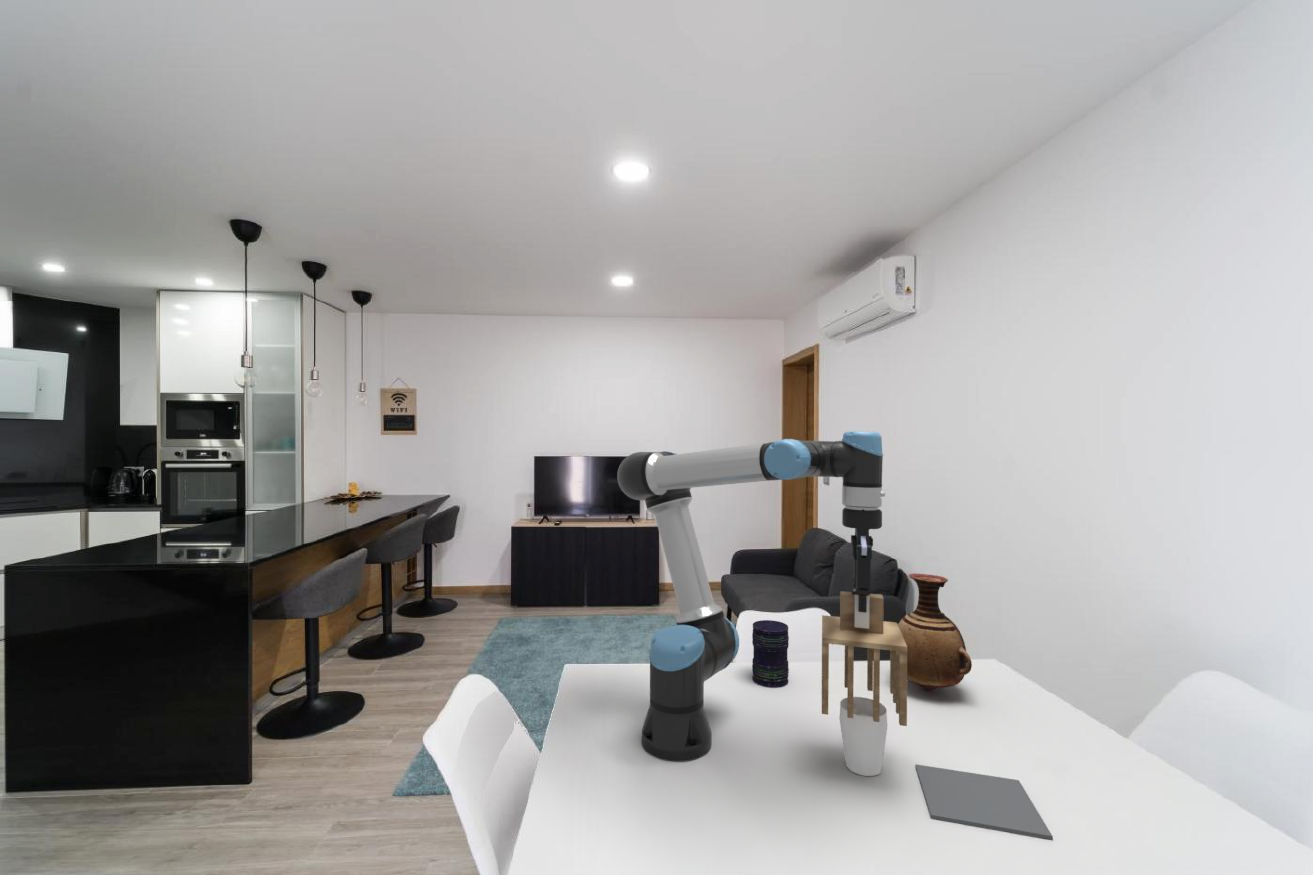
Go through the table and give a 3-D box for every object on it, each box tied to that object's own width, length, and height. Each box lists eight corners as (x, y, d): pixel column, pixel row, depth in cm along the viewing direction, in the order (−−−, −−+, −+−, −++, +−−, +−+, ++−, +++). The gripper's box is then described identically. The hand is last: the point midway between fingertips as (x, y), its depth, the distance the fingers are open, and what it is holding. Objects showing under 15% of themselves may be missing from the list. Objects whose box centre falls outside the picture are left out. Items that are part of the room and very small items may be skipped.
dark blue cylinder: (767, 670, 159) (767, 617, 159) (796, 681, 151) (796, 626, 151) (744, 679, 152) (744, 624, 153) (773, 691, 145) (773, 633, 145)
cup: (892, 783, 105) (892, 719, 105) (842, 777, 107) (842, 714, 107) (882, 757, 114) (882, 698, 114) (836, 752, 115) (836, 694, 116)
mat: (930, 818, 95) (930, 814, 95) (915, 767, 110) (915, 764, 110) (1052, 839, 90) (1052, 836, 90) (1018, 783, 105) (1018, 780, 105)
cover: (821, 713, 106) (822, 601, 106) (821, 682, 120) (822, 583, 120) (906, 726, 101) (907, 608, 102) (896, 691, 116) (896, 589, 116)
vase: (872, 678, 153) (872, 570, 154) (925, 671, 159) (924, 566, 159) (932, 713, 133) (931, 588, 133) (990, 703, 138) (989, 583, 139)
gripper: (886, 512, 103) (885, 639, 102) (877, 504, 118) (877, 614, 118) (844, 511, 105) (843, 635, 104) (841, 503, 120) (840, 611, 120)
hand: (861, 624), depth 111 cm, fingers closed on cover, 3 cm apart
